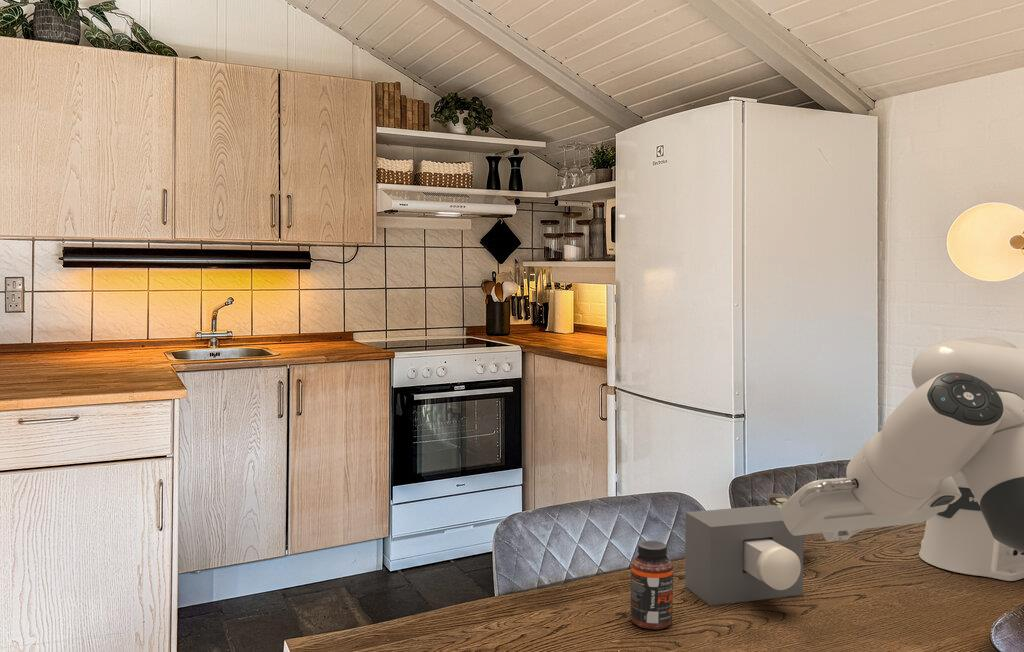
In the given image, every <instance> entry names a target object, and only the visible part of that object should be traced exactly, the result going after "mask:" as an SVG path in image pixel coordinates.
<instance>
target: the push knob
mask: <svg viewBox="0 0 1024 652" xmlns="http://www.w3.org/2000/svg"><path fill="white" fill-rule="evenodd" d="M743 570H745V571H746V572H748V573H749V574H751V575H752V576H754V577H756V578H757V579H759V580H760V581H763V582H764V583H766V584H767V585H769V586H770V587H772V588H774V589H776V590H785V589H788V588H790V587H791V586H792V585H793V584H794V583H795V582H796V581H797V579H798V577H799V575H800V571H801V564H800V560H799V558H798V556H797V555H796V554H795V553H794V552H793V551H791V550H789V549H787V548H785V547H784V546H782V545H780V544H778V543H776V542H774V541H772V540H770V539H769V538H767V537H766V538H756V539H746V540H743Z"/></svg>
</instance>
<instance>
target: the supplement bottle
mask: <svg viewBox="0 0 1024 652" xmlns="http://www.w3.org/2000/svg"><path fill="white" fill-rule="evenodd" d="M667 549H668V547H667V544H666V543H664V542H663V541H658V540H643V541H640V542H639V543H638V545H637V553H638V554H637V555H636V556H634V558H633V559H632V560H631V562H630V563H631V565H630V568H631V569H630V620H631V622H632V623H633V624H635V625H636V626H637V627H640V628H641V629H642V628H643V629H647V630H653V631H654V630H663V629H666V628H668V627H670V626H671V624H672V622H673V613H674V612H673V611H674V610H673V604H674V603H673V600H674V599H673V598H674V597H673V596H674V594H673V593H674V591H673V590H674V564H673V562H672V561H671V559H669V558H668V556H667V554H668V552H667V551H668V550H667Z"/></svg>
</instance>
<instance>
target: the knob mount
mask: <svg viewBox="0 0 1024 652" xmlns="http://www.w3.org/2000/svg"><path fill="white" fill-rule="evenodd" d="M804 536H805V535H798V536H794V535H792V534H791V533H790V532H789V531H788V529H787V527H786V525H785V523H784V521H783V519H782V516H781V513H780V507H777V506H775V505H759V506H758V505H757V506H756V505H755V506H744V507H734V508H733V507H731V508H719V509H710V510H698V511H697V510H696V511H695V510H694V511H686V512H685V535H684V537H685V544H684V545H685V546H684V547H685V549H684V550H685V551H684V552H685V555H684V556H685V557H684V559H685V562H684V564H685V565H684V587H685V588H687V589H688V590H690V592H692V594H694V595H696V596H697V597H698V598H700V599H701V600H702V601H703V602H705V603H706V604H707V605H708V606H712V607H713V606H719V605H728V604H737V603H745V602H751V601H752V602H753V601H754V602H755V601H761V600H770V599H778V598H787V597H796V596H803V594H804V593H803V592H804V548H805V546H804V541H805V540H804V539H805V538H804ZM766 537H767V538H769V539H770V540H772V541H774V542H776V543H778V544H780V545H782V546H784V547H785V548H787V549H789V550H791V551H793V552H794V553H795V554H796V555H797V556H798V558H799V560H800V564H801V571H800V575H799V577H798V579H797V581H796V582H795V583H794V584H793V585H792V586H791V587H790V588H788V589H785V590H776V589H774V588H772V587H770V586H769V585H767V584H766V583H764V582H763V581H760V580H759V579H757V578H756V577H754V576H752V575H751V574H749V573H748V572H746V571H745V570H743V540H746V539H756V538H766Z"/></svg>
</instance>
